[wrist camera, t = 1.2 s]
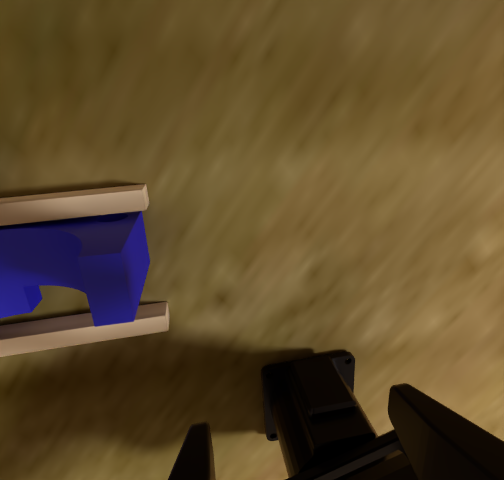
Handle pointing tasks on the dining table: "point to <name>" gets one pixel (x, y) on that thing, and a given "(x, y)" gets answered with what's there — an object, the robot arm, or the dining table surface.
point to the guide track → (82, 325)
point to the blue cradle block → (76, 263)
